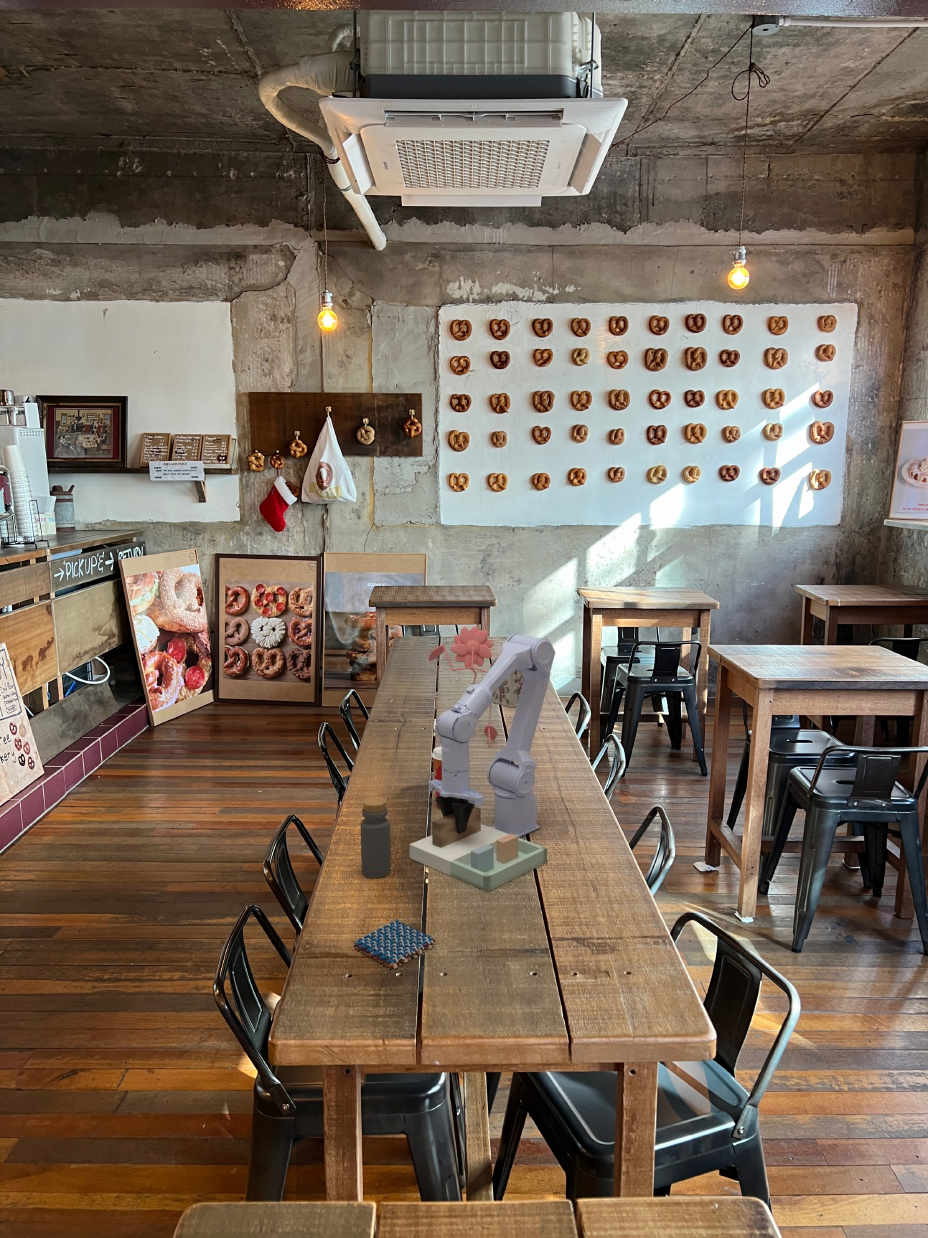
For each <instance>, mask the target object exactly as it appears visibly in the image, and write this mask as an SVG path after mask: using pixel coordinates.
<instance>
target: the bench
mask: <svg viewBox="0 0 928 1238" xmlns="http://www.w3.org/2000/svg"><path fill="white" fill-rule="evenodd" d="M507 835H509V834H507V833H504V832H502V831H499V830H496V829H493V828H491V826H488V825H484V824H482V823H481V831H479V832H477V833H475V834H472V835H470V836H468V837H465V838H463V839H461V840H458V841H456V842H454V843H451V844H449V845H447V846H444V847H442V848H440V847H437V846H435V845H432V834H431V835H429V836H426V837H424V838H422V839H420V840H419V839H418V840H417V841H414V842H412V843H409V859H411V860H413V861H416V862H418V863H421V864H423V865H425V866H427V867H429V868H432V869H434V870H436V871H439V872H441V873H443V874H445V875H448V876H450V861H453V860H455V861H457V862H460V863H462V864H465V865H469V864H471V851H472V850H474V849H476V848H479V847H481V846H483V845H486V844H487V845H490V846H492V847H494V853H495V852H496V840H498V839H500V838H502V837H504V836H507Z"/></svg>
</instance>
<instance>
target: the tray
mask: <svg viewBox="0 0 928 1238" xmlns="http://www.w3.org/2000/svg"><path fill="white" fill-rule="evenodd" d="M547 862H548V847H545V846H542V845H540V844H537V843H533V842H532V841H528V840H525V839H523V838H520V837H519V838H518V857H517V858H515V859H513V860H511V861H509V862H507V863H504V864H503V863H500V862H498V861H496V852H495V853H494V868H493V869H491V870H489V871H487V872H485V873H484V872H481V871H479V870H477V869H474V868H472V867H471V864H469V865H465V864H462V863H460V862H457V861H455V860H453V861H450V875H449V876H450V877H452V878H454V879H457V880H459V881H462V882H464V883H466V884H468V885H470V886H472V887H475V888H477V889H478V890H479V889H480V890H482V891H484V892H487V893H489V892H490V891H492V890H494V889H496V888H499V887H501V886H502V885H505V884H507V883H509V882H510V881H512V880H514V879H516V878H518V877H520V876H523V875H525V874H526V873H528V872H530V871H532V870H535V869H536V868H539V867H540V866H542V865H544V864H547Z"/></svg>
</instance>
